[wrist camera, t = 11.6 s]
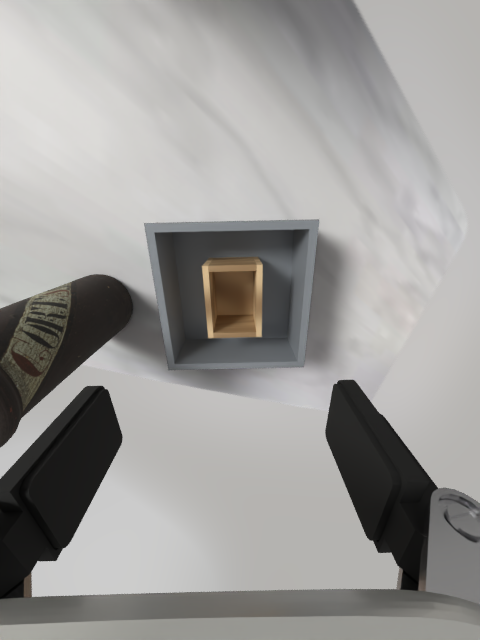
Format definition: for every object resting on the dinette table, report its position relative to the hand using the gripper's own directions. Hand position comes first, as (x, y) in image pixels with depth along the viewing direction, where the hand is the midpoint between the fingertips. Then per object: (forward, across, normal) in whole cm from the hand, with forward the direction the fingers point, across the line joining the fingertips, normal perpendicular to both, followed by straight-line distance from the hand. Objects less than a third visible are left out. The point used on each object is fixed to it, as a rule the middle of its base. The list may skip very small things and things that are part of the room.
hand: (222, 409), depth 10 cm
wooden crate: (+22, 0, +1) cm, 22 cm away
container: (+23, +18, +3) cm, 29 cm away
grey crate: (+22, 0, +1) cm, 22 cm away
